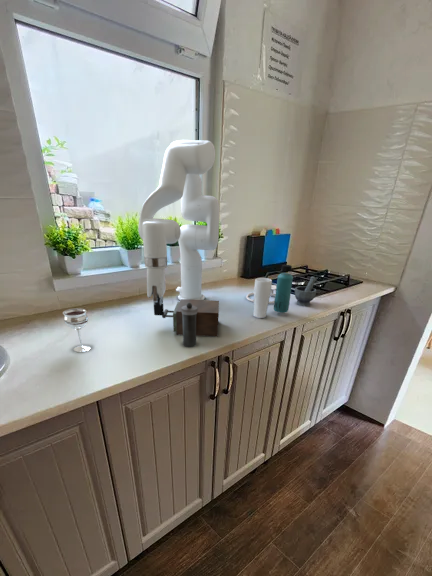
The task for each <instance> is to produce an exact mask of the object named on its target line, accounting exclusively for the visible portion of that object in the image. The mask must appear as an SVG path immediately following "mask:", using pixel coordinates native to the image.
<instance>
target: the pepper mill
mask: <svg viewBox="0 0 432 576" xmlns="http://www.w3.org/2000/svg"><path fill="white" fill-rule="evenodd" d="M181 313H182V315H183V335H182V345H183V346H184V347H186V348H193V347H196V346H197V336H196V314H197V307H196V306H192V304H191V303H187V305H186V306H183V307H182V308H181Z"/></svg>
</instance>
